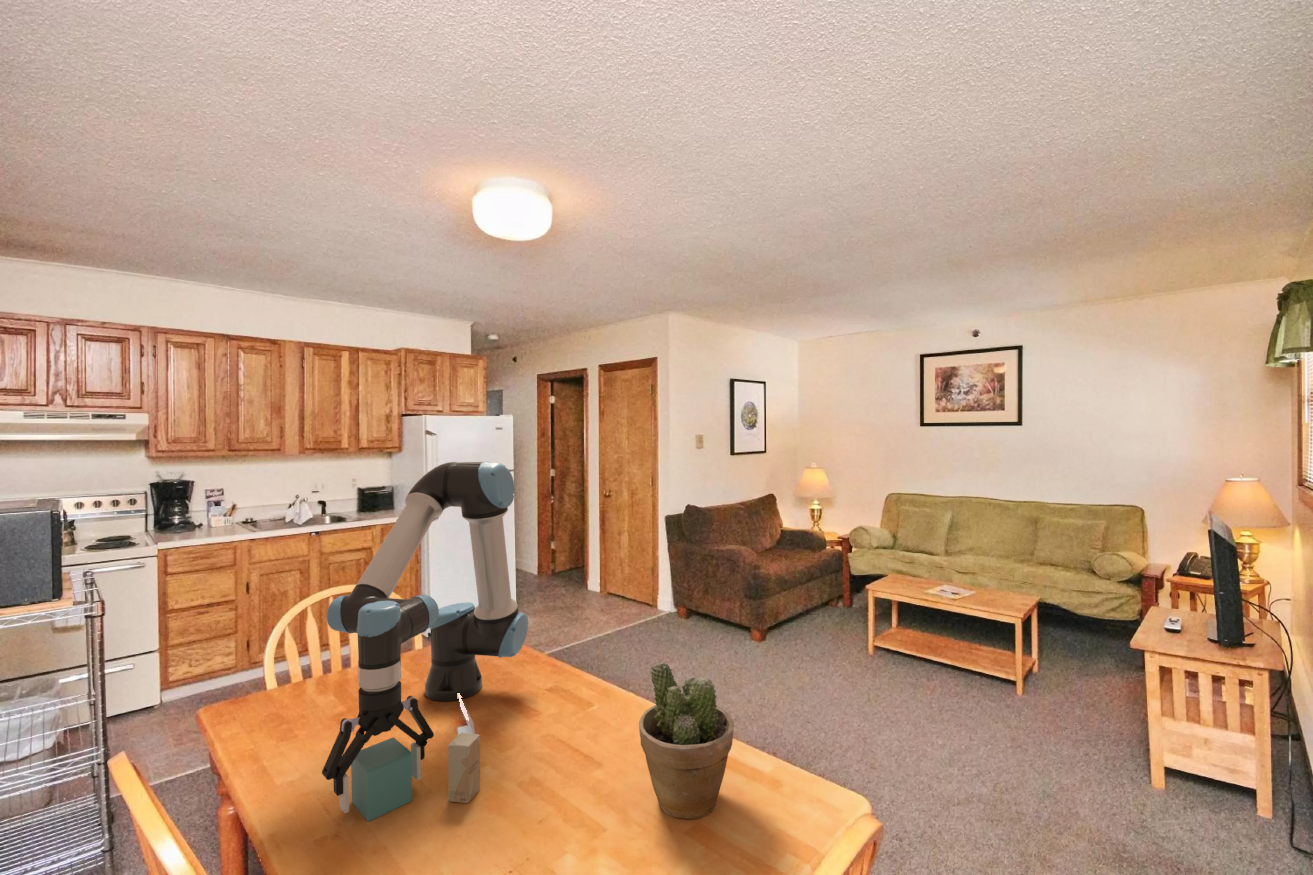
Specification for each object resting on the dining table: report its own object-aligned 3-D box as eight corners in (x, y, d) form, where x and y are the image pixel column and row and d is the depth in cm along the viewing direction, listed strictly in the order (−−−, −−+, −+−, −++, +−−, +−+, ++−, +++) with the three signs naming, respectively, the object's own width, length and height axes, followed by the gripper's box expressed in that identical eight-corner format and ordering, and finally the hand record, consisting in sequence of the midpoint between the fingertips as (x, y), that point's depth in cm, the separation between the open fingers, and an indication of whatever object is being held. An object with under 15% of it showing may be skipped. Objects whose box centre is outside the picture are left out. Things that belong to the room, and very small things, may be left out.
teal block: (394, 783, 119) (393, 737, 119) (412, 800, 114) (411, 751, 114) (351, 802, 113) (350, 753, 113) (368, 821, 108) (367, 770, 108)
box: (467, 804, 112) (466, 747, 112) (447, 801, 113) (446, 745, 113) (481, 787, 118) (480, 733, 117) (461, 785, 118) (460, 731, 118)
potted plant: (743, 782, 118) (742, 660, 118) (723, 843, 101) (721, 700, 101) (657, 766, 124) (656, 650, 124) (625, 821, 107) (623, 686, 107)
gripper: (432, 659, 125) (434, 758, 125) (301, 699, 107) (303, 814, 107) (449, 669, 120) (451, 771, 120) (315, 713, 101) (317, 833, 102)
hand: (381, 792), depth 113 cm, fingers open, 13 cm apart
